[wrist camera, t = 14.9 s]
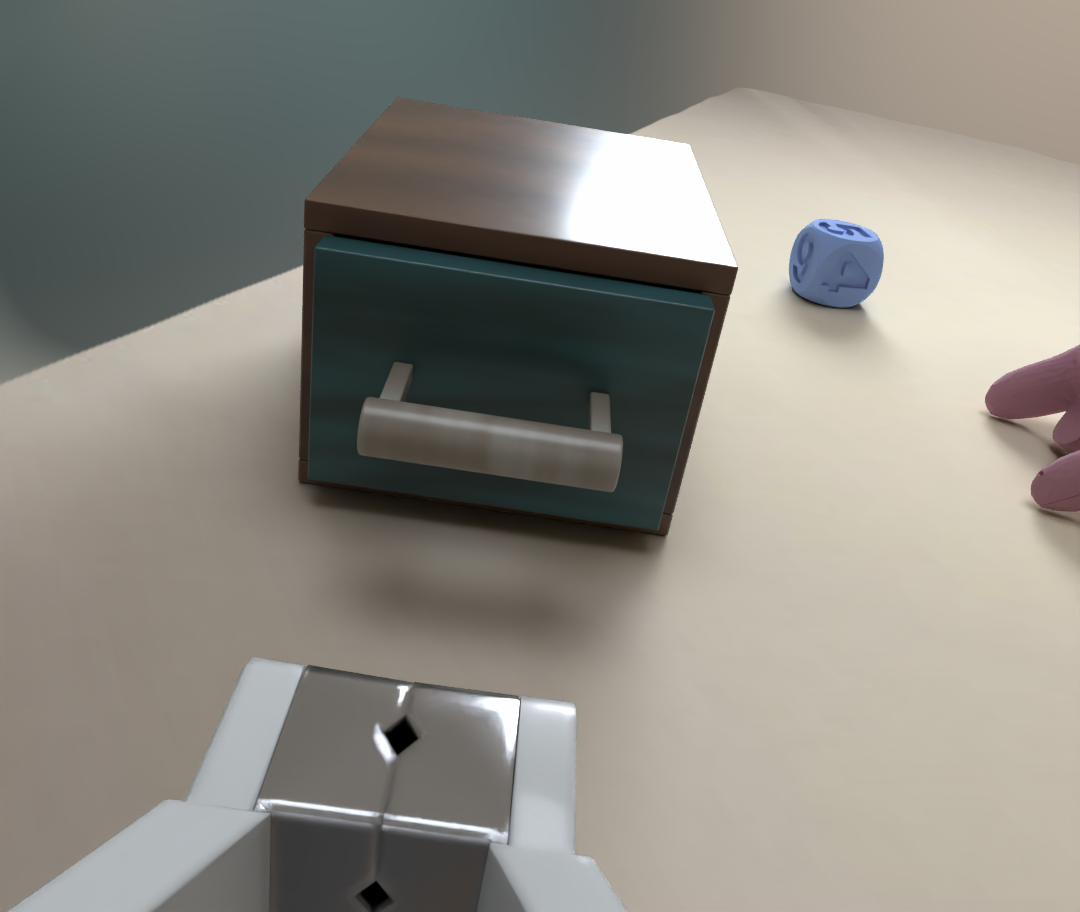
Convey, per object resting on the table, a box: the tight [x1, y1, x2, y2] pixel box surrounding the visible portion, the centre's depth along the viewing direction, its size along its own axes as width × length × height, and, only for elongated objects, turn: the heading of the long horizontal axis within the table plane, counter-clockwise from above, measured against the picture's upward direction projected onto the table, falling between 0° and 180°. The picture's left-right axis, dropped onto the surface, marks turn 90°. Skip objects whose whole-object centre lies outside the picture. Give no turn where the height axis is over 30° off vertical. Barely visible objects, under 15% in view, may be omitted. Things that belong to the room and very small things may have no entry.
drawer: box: [308, 235, 715, 531], centre depth 34 cm, size 19×12×8 cm, turn 178°
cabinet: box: [298, 97, 738, 535], centre depth 37 cm, size 16×13×10 cm
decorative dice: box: [789, 219, 884, 308], centre depth 57 cm, size 4×4×4 cm
